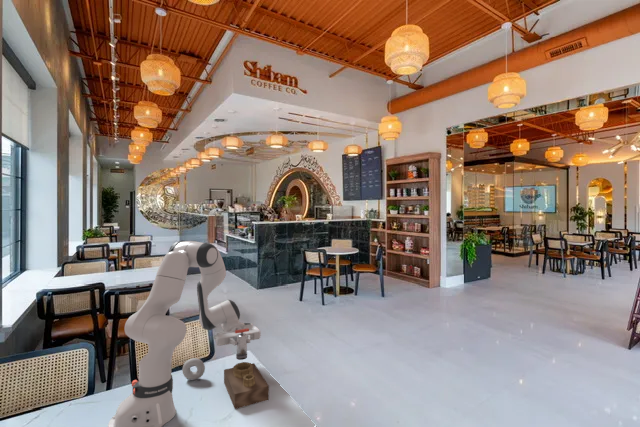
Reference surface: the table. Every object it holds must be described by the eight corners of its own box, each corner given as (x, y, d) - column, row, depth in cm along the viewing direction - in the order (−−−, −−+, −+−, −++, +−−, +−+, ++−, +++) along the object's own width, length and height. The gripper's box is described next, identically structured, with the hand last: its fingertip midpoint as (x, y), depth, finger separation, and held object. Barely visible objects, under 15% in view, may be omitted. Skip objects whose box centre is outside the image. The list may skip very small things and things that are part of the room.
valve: (236, 360, 143) (236, 332, 143) (233, 356, 148) (234, 328, 147) (249, 358, 146) (250, 330, 146) (246, 353, 150) (247, 326, 150)
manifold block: (234, 409, 129) (234, 386, 129) (224, 382, 149) (224, 363, 149) (268, 399, 136) (268, 378, 136) (254, 375, 155) (254, 356, 155)
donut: (181, 382, 149) (181, 360, 149) (183, 378, 152) (183, 357, 152) (204, 381, 150) (204, 359, 150) (205, 377, 154) (205, 356, 154)
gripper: (213, 328, 153) (218, 339, 141) (255, 322, 163) (264, 331, 151) (212, 342, 153) (218, 353, 141) (255, 335, 163) (264, 345, 151)
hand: (242, 342), depth 146 cm, fingers closed on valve, 4 cm apart
